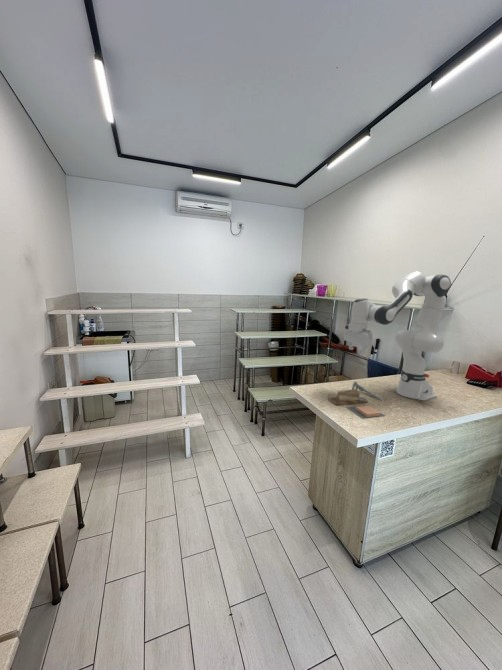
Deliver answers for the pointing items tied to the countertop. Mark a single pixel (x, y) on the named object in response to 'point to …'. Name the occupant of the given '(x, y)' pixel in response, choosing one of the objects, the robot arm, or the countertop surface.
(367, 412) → the tile
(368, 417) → the mat
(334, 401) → the board
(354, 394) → the scraper
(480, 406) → the countertop surface
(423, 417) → the countertop surface
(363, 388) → the caliper
